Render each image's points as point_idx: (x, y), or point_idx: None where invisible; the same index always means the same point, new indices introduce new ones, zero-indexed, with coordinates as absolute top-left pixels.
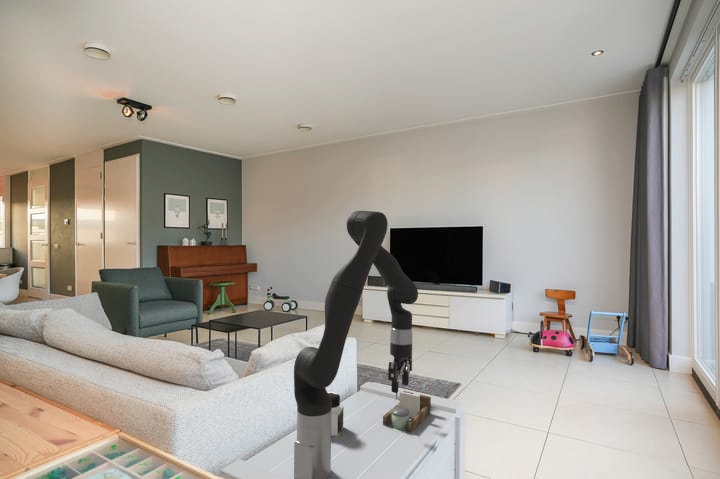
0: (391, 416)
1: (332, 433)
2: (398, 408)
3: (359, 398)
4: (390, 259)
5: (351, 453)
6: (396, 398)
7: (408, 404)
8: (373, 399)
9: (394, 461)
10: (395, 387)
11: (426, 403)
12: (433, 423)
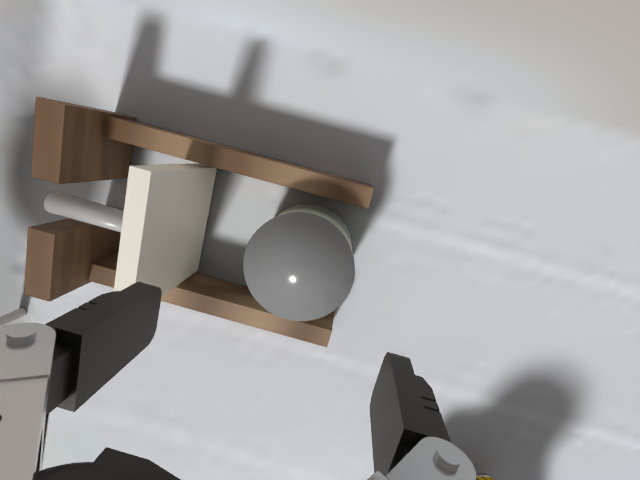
0: None
1: None
2: (268, 286)
3: None
4: None
5: (618, 398)
6: (23, 312)
7: (176, 237)
8: (83, 410)
9: None
10: (436, 410)
11: (92, 129)
12: (228, 80)
